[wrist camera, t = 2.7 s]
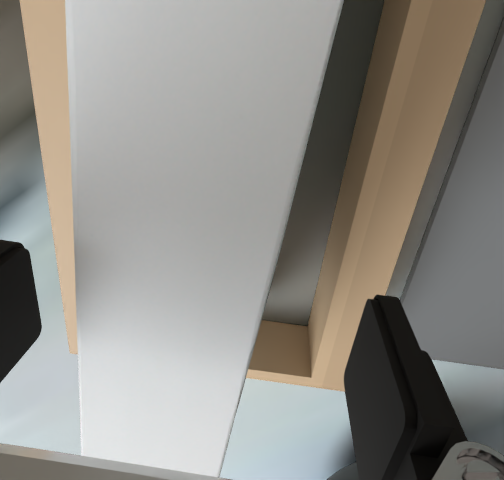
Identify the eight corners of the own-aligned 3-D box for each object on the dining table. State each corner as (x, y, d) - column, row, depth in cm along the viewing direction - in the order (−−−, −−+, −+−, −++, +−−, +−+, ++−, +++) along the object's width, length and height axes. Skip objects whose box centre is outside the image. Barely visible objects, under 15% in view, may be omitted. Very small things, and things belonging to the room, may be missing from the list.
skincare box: (220, -73, 19) (35, -380, 5) (331, -48, 19) (469, -273, 5) (177, 283, 29) (76, 523, 15) (250, 298, 29) (218, 549, 15)
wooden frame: (61, -167, 18) (-14, -234, 13) (476, -114, 17) (541, -163, 13) (101, 306, 30) (69, 353, 26) (341, 339, 30) (351, 392, 26)
